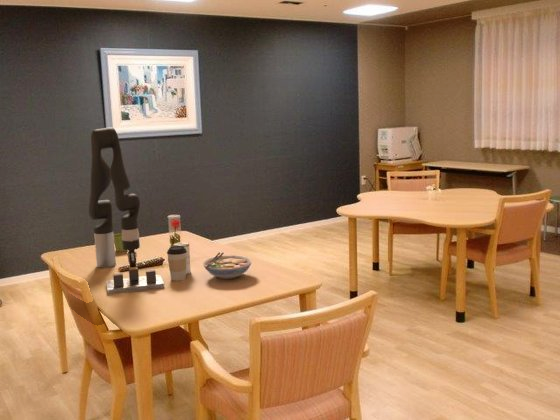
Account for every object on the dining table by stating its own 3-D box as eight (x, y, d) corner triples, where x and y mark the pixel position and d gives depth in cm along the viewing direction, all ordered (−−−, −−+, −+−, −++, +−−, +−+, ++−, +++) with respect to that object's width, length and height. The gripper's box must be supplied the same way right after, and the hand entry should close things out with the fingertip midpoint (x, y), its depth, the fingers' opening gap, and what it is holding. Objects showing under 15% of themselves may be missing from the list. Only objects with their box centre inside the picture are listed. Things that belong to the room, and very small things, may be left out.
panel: (106, 285, 267) (106, 280, 266) (160, 278, 274) (160, 274, 273) (107, 294, 253) (107, 290, 253) (164, 287, 261) (163, 283, 260)
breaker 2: (146, 281, 263) (145, 270, 262) (155, 280, 264) (154, 269, 263) (147, 282, 261) (146, 272, 260) (156, 281, 262) (155, 271, 261)
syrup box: (174, 274, 280) (172, 244, 278) (181, 270, 286) (179, 241, 283) (183, 275, 278) (182, 245, 275) (191, 272, 283) (189, 242, 280)
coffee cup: (169, 282, 269) (167, 250, 266) (167, 276, 277) (165, 245, 274) (189, 279, 271) (187, 248, 268) (187, 274, 280) (185, 243, 277)
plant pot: (112, 249, 331) (111, 234, 329) (129, 247, 333) (128, 232, 332) (113, 253, 322) (111, 237, 320) (131, 251, 325) (129, 236, 323)
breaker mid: (129, 279, 266) (128, 267, 265) (138, 278, 268) (137, 266, 267) (129, 280, 264) (128, 268, 263) (138, 279, 265) (138, 267, 264)
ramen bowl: (245, 286, 260) (244, 268, 258) (195, 284, 264) (194, 266, 263) (258, 270, 284) (257, 253, 282) (212, 268, 288) (212, 252, 287)
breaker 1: (113, 285, 259) (113, 274, 258) (123, 284, 260) (122, 273, 259) (114, 286, 256) (113, 275, 256) (123, 285, 258) (122, 274, 257)
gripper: (121, 235, 272) (124, 272, 275) (122, 242, 260) (125, 280, 263) (137, 234, 274) (140, 270, 278) (140, 240, 262) (143, 278, 265)
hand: (133, 275), depth 270 cm, fingers closed
